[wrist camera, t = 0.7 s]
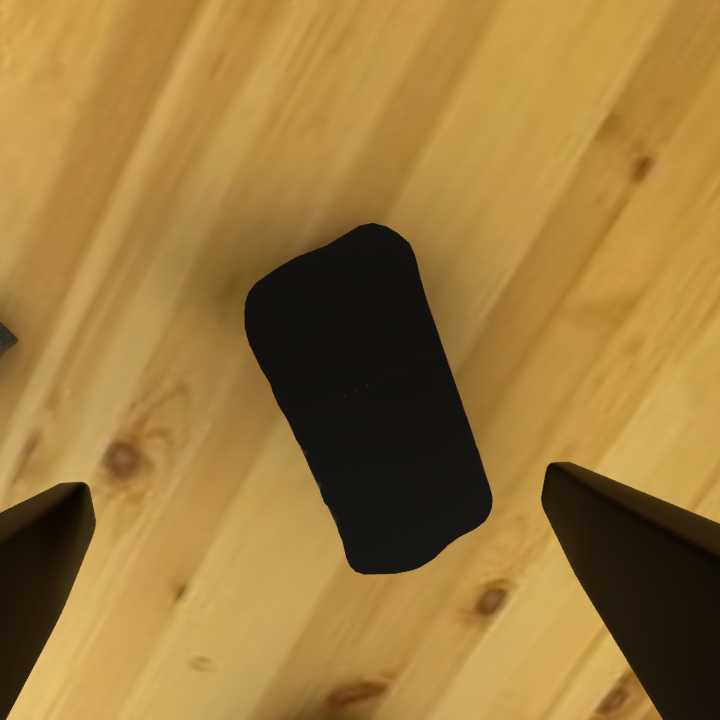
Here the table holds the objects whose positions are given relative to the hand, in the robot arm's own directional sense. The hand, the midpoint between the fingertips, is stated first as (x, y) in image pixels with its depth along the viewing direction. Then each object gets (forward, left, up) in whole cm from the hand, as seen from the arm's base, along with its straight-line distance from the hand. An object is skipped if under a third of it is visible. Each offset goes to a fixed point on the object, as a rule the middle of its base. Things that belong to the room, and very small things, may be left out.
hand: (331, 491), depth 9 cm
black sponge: (-2, -3, -15) cm, 15 cm away
